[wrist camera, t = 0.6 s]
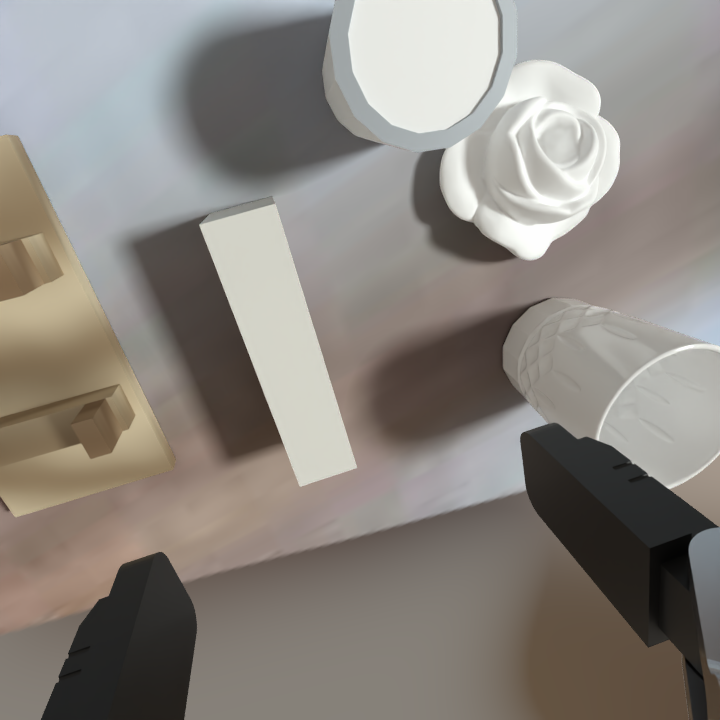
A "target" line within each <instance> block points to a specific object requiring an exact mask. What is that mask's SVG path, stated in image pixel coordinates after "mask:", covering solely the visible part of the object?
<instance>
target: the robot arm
mask: <svg viewBox="0 0 720 720" xmlns="http://www.w3.org/2000/svg"><path fill="white" fill-rule="evenodd" d="M520 442H521V450H522V459H523V467H524V475H525V484H526V490H527V493H528V496H529V499H530V501H531V503H532V505H533V507H534V509H535V510H536V512H537V514H538V515H539V516H540V517H541V518H542V520H543V521H544V522H545V523H546V525H547V526H548V527H549V528H550V529H551V530H552V532H553V533H554V534H555V535H556V537H557V538H558V539H559V540H560V541H561V543H562V544H563V545H564V546H565V547H566V549H567V550H568V551H569V552H570V554H571V555H572V556H573V557H574V558H575V560H576V561H577V562H578V563H579V565H580V566H581V567H582V568H583V569H584V570H585V572H586V573H587V574H588V575H589V576H590V577H591V579H592V580H593V581H594V583H595V584H596V585H597V586H598V587H599V589H600V590H601V591H602V592H603V594H604V595H605V596H606V597H607V598H608V600H609V601H610V602H611V603H612V604H613V605H614V607H615V608H616V609H617V610H618V612H619V613H620V614H621V615H622V616H623V618H624V619H625V620H626V621H627V622H628V624H629V625H630V626H631V627H632V629H633V630H634V631H635V632H636V633H637V634H638V636H639V637H640V638H641V639H642V641H643V642H644V643H645V644H646V645H647V647H651V646H654V645H656V644H659V643H661V642H664V641H666V640H670V641H671V642H672V643H673V644H674V645H675V646H676V647H677V648H678V650H679V651H680V652H681V653H682V669H683V676H684V684H685V692H686V700H687V708H688V716H689V720H720V527H718V526H717V525H715V524H714V523H713V522H711V521H710V520H709V519H707V518H706V517H705V516H704V515H702V514H701V513H700V512H698V511H697V510H696V509H694V508H693V507H692V506H690V505H689V504H688V503H686V502H685V501H684V500H682V499H681V498H680V497H678V496H677V495H676V494H674V493H673V492H672V491H670V490H669V489H668V488H667V487H665V486H664V485H663V484H661V483H660V482H659V481H657V480H656V479H655V478H653V477H652V476H651V477H649V476H648V474H647V472H645V471H644V470H643V469H641V468H640V467H639V466H638V465H636V464H632V462H631V460H630V459H628V458H627V457H626V456H624V455H623V454H622V453H620V452H619V451H618V450H616V449H615V448H614V447H612V446H611V445H608V444H605V443H603V442H600V441H597V440H595V439H592V438H590V437H587V436H586V437H583V438H580V439H577V438H575V437H574V436H573V435H572V434H571V433H569V432H568V431H567V430H566V429H564V428H563V427H562V426H561V425H559V424H558V423H555V422H553V423H550V424H547V425H544V426H541V427H538V428H535V429H532V430H529V431H526V432H523V433H522V434H521V437H520ZM196 633H197V621H196V614H195V609H194V606H193V603H192V601H191V599H190V597H189V595H188V594H187V592H186V590H185V588H184V586H183V584H182V583H181V581H180V579H179V577H178V575H177V574H176V572H175V570H174V568H173V566H172V565H171V563H170V561H169V559H168V558H167V556H166V555H165V554H164V553H162V552H158V553H155V554H152V555H149V556H146V557H143V558H140V559H137V560H134V561H131V562H128V563H125V564H123V565H122V566H121V567H120V568H119V570H118V573H117V575H116V578H115V581H114V583H113V586H112V589H111V592H110V594H109V596H108V597H105V598H102V599H99V601H98V602H97V603H96V605H95V606H94V607H93V609H92V610H91V611H90V613H89V614H88V615H87V617H86V618H85V619H84V621H83V622H82V623H81V625H80V626H79V628H78V631H77V633H76V636H75V638H74V641H73V643H72V645H71V648H70V650H69V653H68V654H69V658H68V659H66V660H65V662H64V665H63V667H62V670H61V672H60V674H59V682H58V683H56V684H55V687H54V689H53V692H52V694H51V696H50V699H49V701H48V704H47V706H46V709H45V711H44V714H43V716H42V718H41V720H184V716H185V709H186V702H187V695H188V688H189V681H190V675H191V667H192V661H193V654H194V647H195V640H196Z"/></svg>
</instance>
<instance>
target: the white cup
mask: <svg viewBox="0 0 720 720" xmlns="http://www.w3.org/2000/svg"><path fill="white" fill-rule="evenodd" d="M503 369H504V371H505V373H506V375H507V376H508V378H509V380H510V382H511V383H512V385H513V386H514V387H515V388H516V389H517V390H518V391H519V392H520V393H521V394H522V395H523V396H524V397H525V398H526V399H527V401H528V402H529V403H530V405H531V406H532V407H533V408H534V409H535V410H536V411H537V412H538V413H539V414H540V415H541V416H542V417H543V418H544V419H545V421H546V422H547V423H548V424H550V423H553V422H555V423H558V424H559V425H561V426H562V427H563V428H564V429H566V430H567V431H568V432H569V433H571V434H572V435H573V436H574V437H575V438H577V439H580V438H583V437H586V436H587V437H590V438H592V439H595V440H597V441H600V442H603V443H605V444H608V445H611V446H612V447H614V448H615V449H616V450H618V451H619V452H620V453H622V454H623V455H624V456H626V457H627V458H628V459H630V460H631V462H632V464H636V465H638V466H639V467H640V468H641V469H643V470H644V471H645V472H647V474H648V476H649V477H651V476H652V477H653V478H655V479H656V480H657V481H659V482H660V483H661V484H663V485H664V486H665V487H667V488H668V489H671V488H673V487H676V486H678V485H680V484H682V483H683V482H686V481H687V480H689V479H691V478H692V477H694V476H695V475H696V474H698V473H699V472H701V471H702V470H703V469H705V468H706V467H707V466H708V465H709V464H710V463H711V462H712V461H713V460H715V459H716V457H717V456H718V455H719V454H720V346H717V345H714V344H711V343H708V342H705V341H702V340H699V339H697V338H694V337H691V336H688V335H685V334H682V333H679V332H676V331H673V330H670V329H668V328H665V327H662V326H659V325H656V324H653V323H650V322H647V321H645V320H642V319H639V318H636V317H632V316H629V315H625V314H622V313H619V312H616V311H614V310H610V309H606V308H602V307H597V306H593V305H591V304H588V303H585V302H582V301H580V300H577V299H570V298H551V299H548V300H546V301H544V302H541V303H539V304H537V305H534V306H532V307H530V308H529V309H528V310H527V311H526V312H525V313H524V314H523V315H522V316H521V317H520V318H519V319H518V320H517V321H516V322H515V323H514V324H513V325H512V327H511V329H510V332H509V334H508V336H507V338H506V341H505V343H504V345H503Z"/></svg>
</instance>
